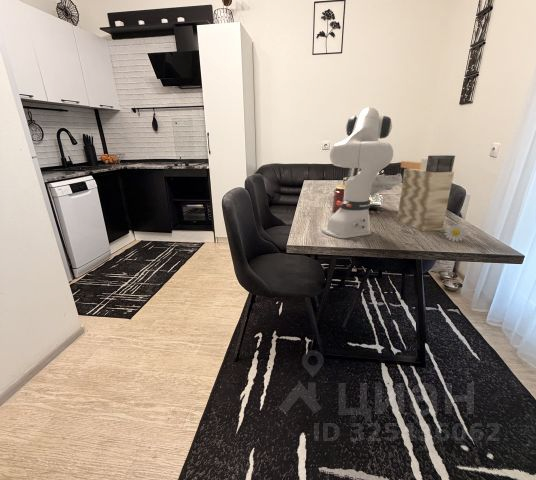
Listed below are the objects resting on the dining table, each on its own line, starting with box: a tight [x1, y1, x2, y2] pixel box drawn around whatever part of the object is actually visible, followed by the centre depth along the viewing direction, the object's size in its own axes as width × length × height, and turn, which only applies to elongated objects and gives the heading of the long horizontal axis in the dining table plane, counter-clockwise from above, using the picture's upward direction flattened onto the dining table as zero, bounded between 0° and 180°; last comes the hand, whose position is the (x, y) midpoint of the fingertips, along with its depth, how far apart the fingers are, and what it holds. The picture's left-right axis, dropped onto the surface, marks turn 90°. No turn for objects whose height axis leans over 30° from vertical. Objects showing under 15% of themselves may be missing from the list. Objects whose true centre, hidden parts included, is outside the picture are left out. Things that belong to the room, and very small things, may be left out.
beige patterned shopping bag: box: [396, 154, 456, 232], centre depth 131 cm, size 19×10×33 cm, turn 11°
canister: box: [331, 180, 346, 213], centre depth 161 cm, size 13×13×18 cm
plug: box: [400, 158, 428, 171], centre depth 132 cm, size 24×6×5 cm, turn 11°
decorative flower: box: [435, 224, 468, 242], centre depth 119 cm, size 8×6×15 cm
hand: (392, 175), depth 154 cm, fingers open, 8 cm apart
